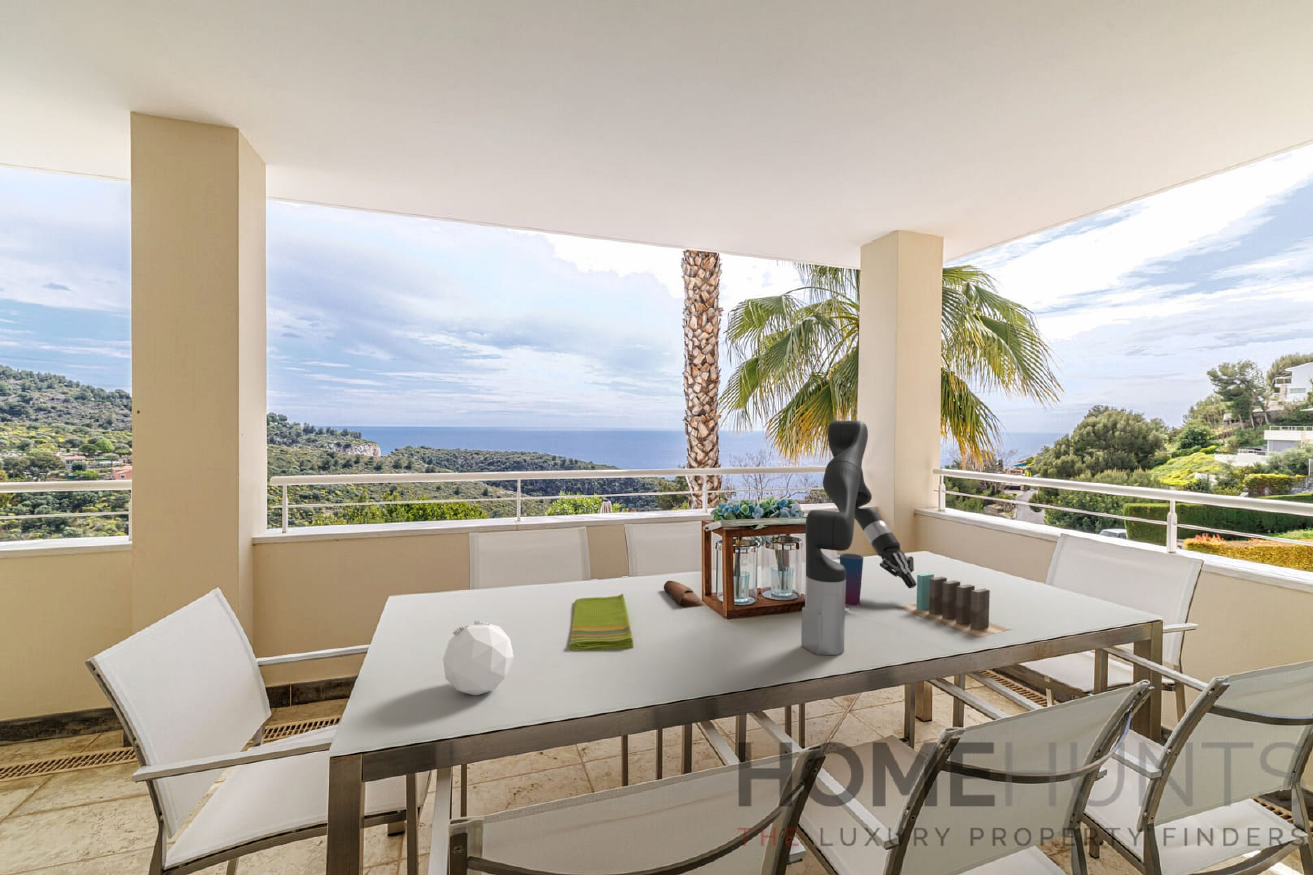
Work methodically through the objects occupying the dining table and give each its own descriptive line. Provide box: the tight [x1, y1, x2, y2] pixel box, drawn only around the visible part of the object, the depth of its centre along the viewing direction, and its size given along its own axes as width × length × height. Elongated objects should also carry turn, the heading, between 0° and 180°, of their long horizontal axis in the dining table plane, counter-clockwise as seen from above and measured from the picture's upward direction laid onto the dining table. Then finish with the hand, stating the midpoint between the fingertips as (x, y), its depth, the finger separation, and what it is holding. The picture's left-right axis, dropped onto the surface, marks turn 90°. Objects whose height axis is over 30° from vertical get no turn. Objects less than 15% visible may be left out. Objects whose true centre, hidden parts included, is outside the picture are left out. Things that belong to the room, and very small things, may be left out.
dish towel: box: [568, 593, 634, 651], centre depth 148 cm, size 15×36×3 cm, turn 7°
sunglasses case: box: [663, 580, 705, 609], centre depth 171 cm, size 18×7×7 cm, turn 16°
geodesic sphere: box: [442, 620, 515, 696], centre depth 109 cm, size 14×14×14 cm
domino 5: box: [971, 588, 991, 630], centre depth 146 cm, size 5×2×10 cm, turn 115°
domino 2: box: [929, 576, 948, 615], centre depth 157 cm, size 5×2×10 cm, turn 115°
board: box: [895, 603, 1012, 638], centre depth 153 cm, size 14×25×1 cm, turn 25°
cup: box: [839, 553, 864, 608], centre depth 166 cm, size 7×7×15 cm
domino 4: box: [956, 583, 976, 625], centre depth 149 cm, size 5×2×10 cm, turn 115°
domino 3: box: [942, 580, 961, 620], centre depth 153 cm, size 5×2×10 cm, turn 115°
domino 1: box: [916, 572, 935, 610], centre depth 161 cm, size 5×2×10 cm, turn 115°
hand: (913, 586), depth 165 cm, fingers closed
